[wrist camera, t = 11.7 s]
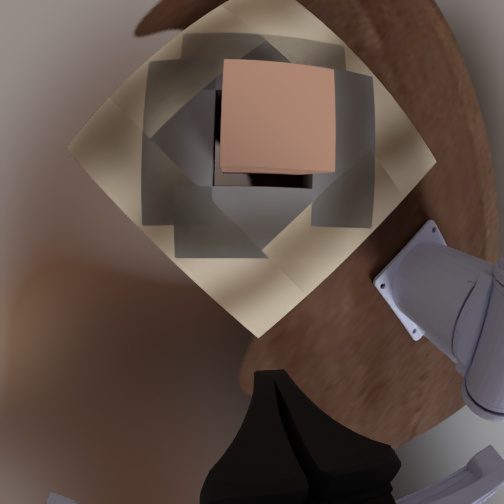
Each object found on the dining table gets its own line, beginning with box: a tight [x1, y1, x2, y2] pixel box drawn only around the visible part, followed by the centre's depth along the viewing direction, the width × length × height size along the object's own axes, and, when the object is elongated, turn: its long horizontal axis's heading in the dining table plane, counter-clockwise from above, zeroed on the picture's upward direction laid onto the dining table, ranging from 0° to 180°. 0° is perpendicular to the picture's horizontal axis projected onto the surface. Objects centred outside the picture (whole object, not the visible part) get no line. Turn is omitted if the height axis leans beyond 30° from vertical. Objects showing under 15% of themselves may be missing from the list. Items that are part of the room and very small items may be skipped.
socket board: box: [66, 0, 436, 338], centre depth 18 cm, size 19×19×2 cm
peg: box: [220, 59, 336, 175], centre depth 15 cm, size 5×5×8 cm
